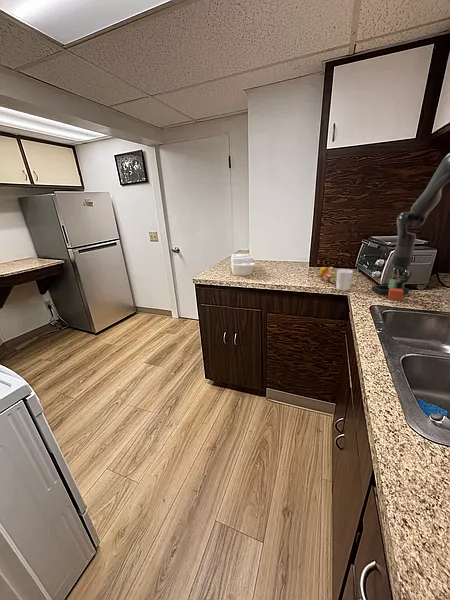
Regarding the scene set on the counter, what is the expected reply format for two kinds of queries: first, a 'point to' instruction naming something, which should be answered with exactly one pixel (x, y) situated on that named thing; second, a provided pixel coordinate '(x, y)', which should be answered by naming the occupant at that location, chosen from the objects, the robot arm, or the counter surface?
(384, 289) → the dark grey tray
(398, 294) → the orange block
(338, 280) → the white cup
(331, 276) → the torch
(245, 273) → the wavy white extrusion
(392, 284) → the green block
